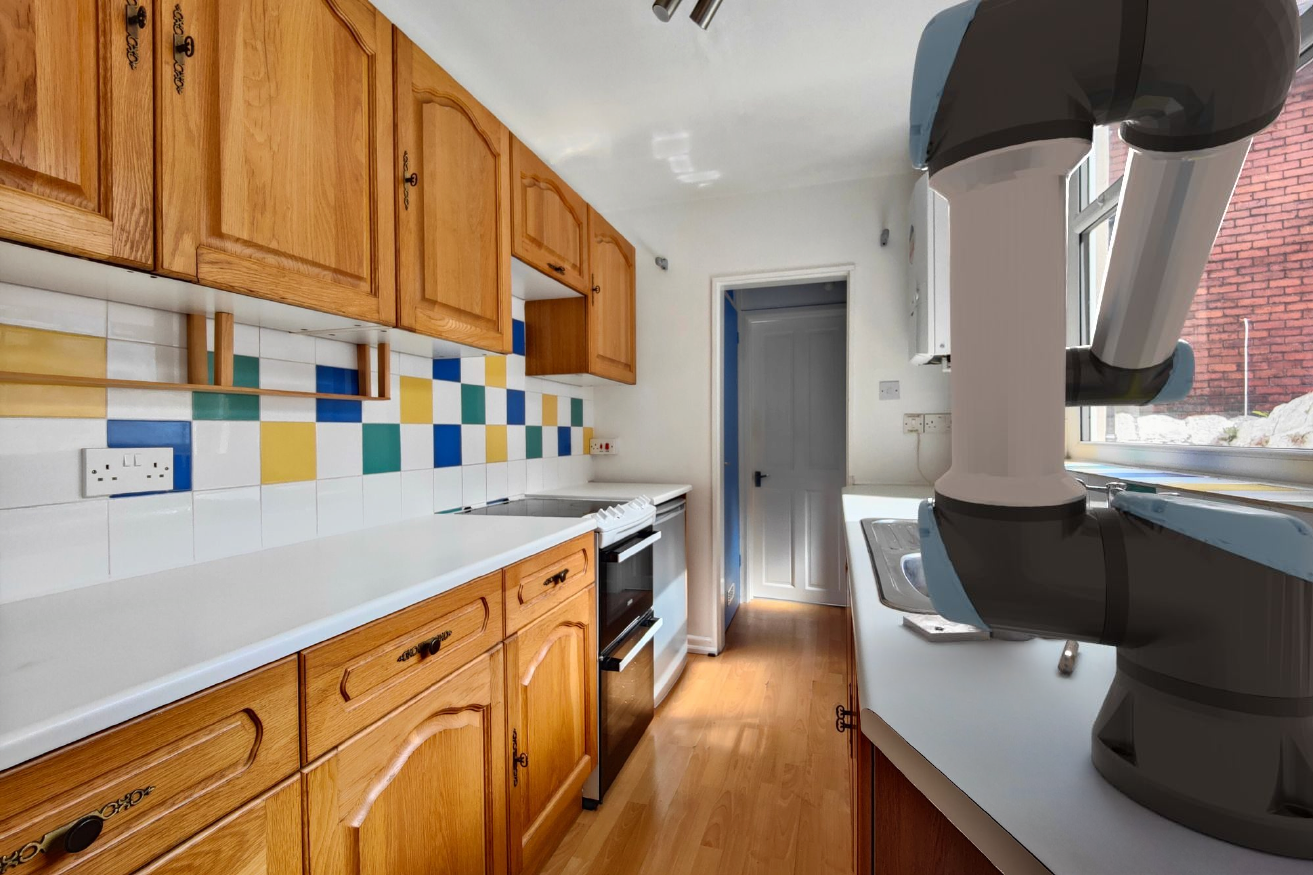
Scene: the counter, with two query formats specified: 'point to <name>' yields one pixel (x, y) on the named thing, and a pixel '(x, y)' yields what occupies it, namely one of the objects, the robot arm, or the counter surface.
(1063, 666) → the old pin
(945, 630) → the hinge
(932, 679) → the counter surface
